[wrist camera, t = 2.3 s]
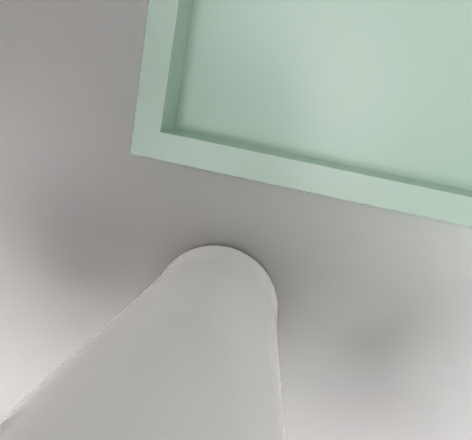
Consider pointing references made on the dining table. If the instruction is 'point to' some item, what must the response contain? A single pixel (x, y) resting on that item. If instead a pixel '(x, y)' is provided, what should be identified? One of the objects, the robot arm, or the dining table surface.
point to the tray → (316, 97)
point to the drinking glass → (171, 363)
